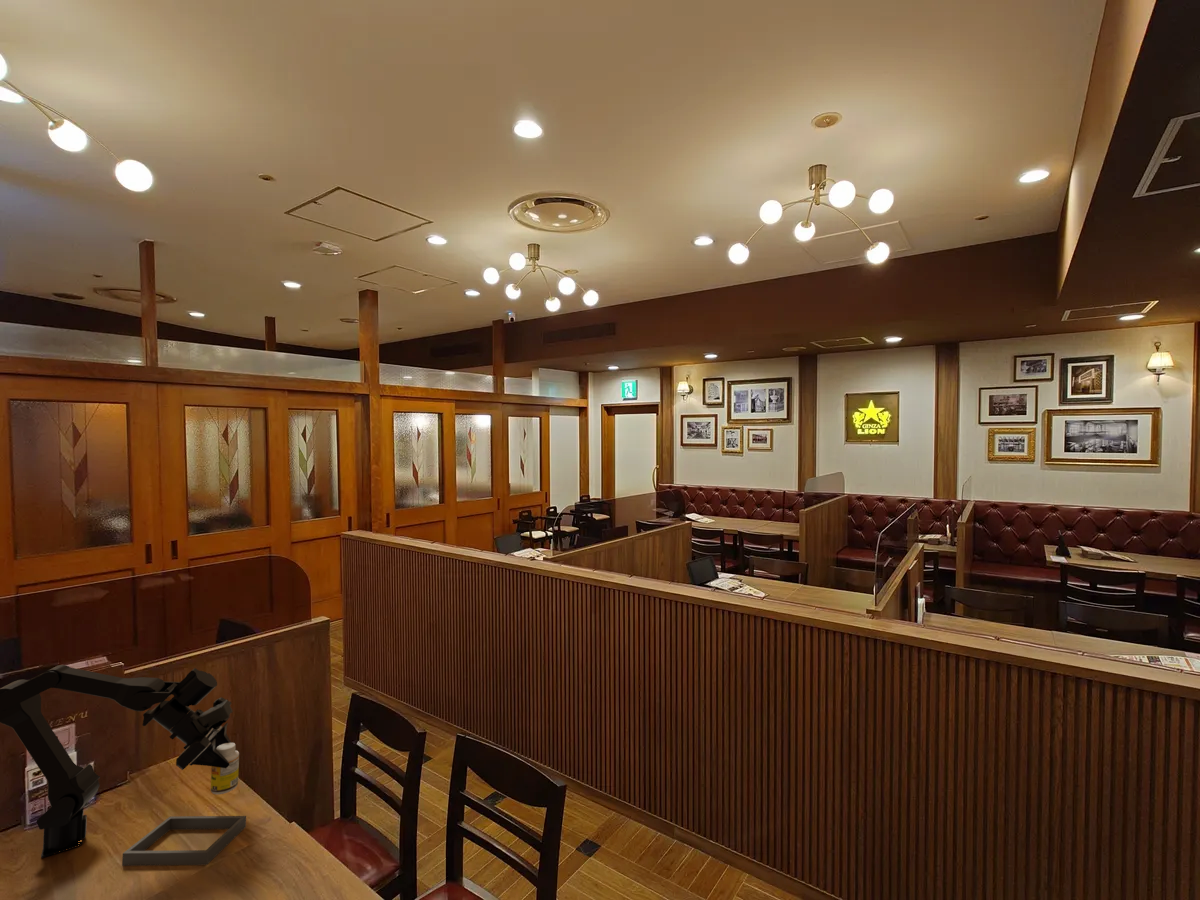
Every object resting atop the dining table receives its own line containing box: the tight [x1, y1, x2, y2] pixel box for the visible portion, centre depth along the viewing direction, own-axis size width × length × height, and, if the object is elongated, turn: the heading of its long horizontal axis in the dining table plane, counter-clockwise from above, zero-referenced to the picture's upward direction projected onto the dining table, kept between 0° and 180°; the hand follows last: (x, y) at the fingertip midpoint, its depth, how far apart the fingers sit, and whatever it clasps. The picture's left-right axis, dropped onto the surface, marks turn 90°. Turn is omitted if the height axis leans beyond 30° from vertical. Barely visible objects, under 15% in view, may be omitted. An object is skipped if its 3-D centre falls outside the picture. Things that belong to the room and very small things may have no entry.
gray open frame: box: [121, 815, 247, 867], centre depth 124 cm, size 18×13×2 cm
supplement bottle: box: [210, 742, 240, 795], centre depth 135 cm, size 6×6×10 cm
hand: (231, 760), depth 136 cm, fingers closed on supplement bottle, 5 cm apart
